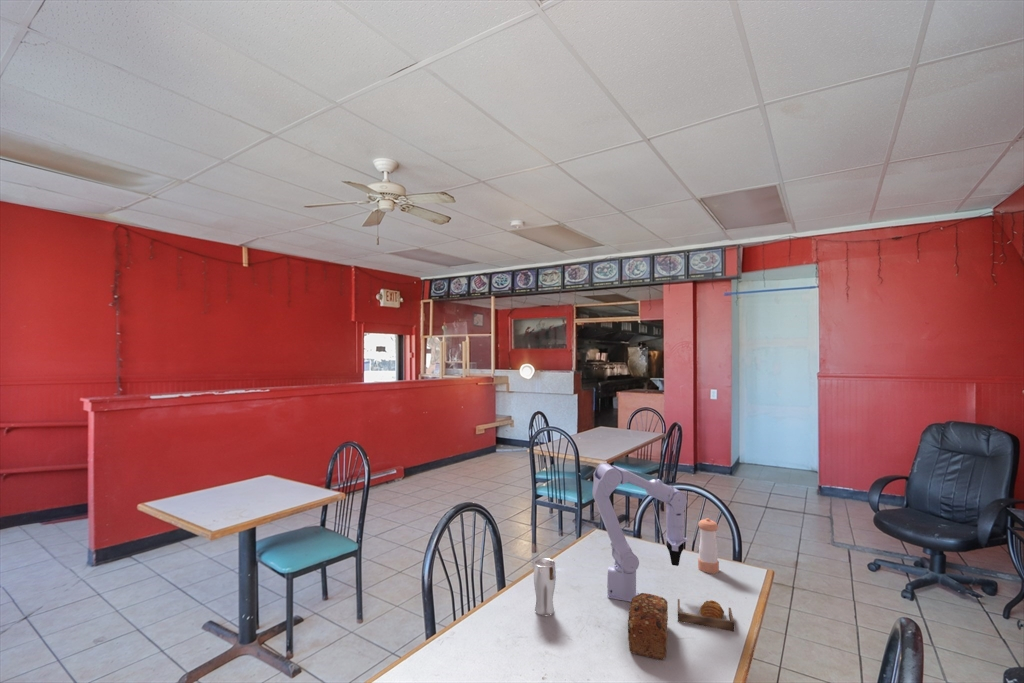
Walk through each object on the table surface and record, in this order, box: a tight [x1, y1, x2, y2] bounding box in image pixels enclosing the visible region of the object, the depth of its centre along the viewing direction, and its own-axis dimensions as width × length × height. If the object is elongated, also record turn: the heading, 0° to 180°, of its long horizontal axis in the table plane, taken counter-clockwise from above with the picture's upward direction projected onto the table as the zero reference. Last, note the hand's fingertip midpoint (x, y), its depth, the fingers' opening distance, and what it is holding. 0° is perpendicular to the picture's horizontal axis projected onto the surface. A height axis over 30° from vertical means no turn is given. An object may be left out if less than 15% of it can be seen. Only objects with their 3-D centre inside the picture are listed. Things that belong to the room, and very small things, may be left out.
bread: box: [627, 592, 669, 660], centre depth 132 cm, size 19×11×10 cm, turn 160°
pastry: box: [699, 599, 725, 619], centre depth 143 cm, size 9×7×4 cm
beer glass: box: [533, 557, 557, 616], centre depth 147 cm, size 7×7×15 cm
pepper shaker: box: [697, 517, 720, 574], centre depth 178 cm, size 7×7×19 cm
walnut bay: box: [677, 598, 735, 632], centre depth 143 cm, size 16×9×2 cm, turn 71°
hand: (675, 564), depth 159 cm, fingers closed
